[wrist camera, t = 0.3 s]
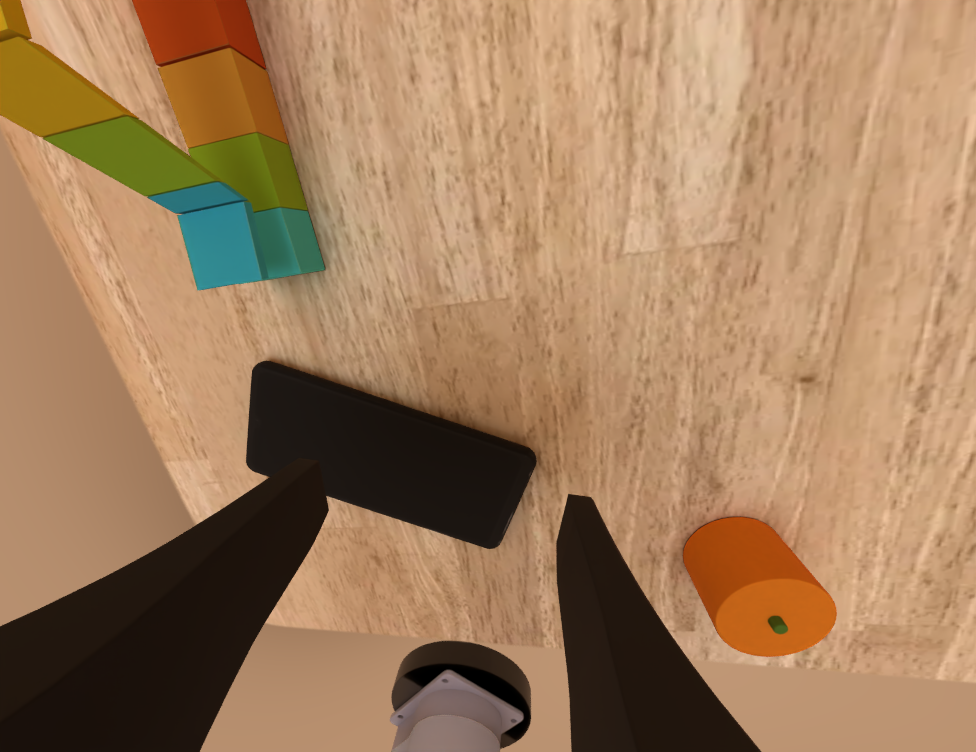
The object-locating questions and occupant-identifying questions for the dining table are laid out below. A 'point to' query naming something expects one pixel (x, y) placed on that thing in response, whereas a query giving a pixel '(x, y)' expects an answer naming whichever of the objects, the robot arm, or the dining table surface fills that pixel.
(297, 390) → the smartphone
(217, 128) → the chart
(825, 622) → the mandarin
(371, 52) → the dining table surface
